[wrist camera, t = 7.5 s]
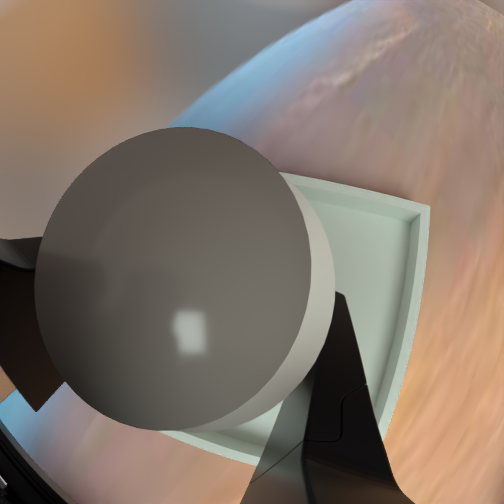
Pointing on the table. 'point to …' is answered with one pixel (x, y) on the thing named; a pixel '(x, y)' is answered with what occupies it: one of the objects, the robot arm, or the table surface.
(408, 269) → the bin
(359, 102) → the table surface
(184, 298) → the jar with lid
